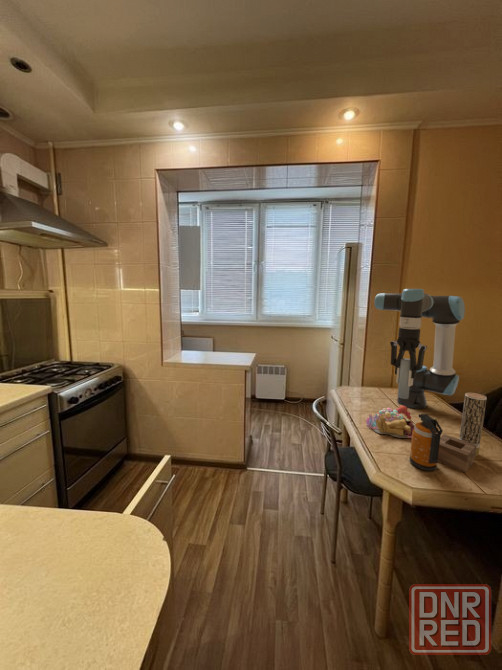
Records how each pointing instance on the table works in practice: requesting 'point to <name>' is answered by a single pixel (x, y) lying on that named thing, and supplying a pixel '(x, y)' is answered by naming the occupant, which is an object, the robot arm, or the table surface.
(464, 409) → the bark covered log
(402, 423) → the candy landscape model
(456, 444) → the hollow walnut box
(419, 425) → the canister
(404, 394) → the dowel
